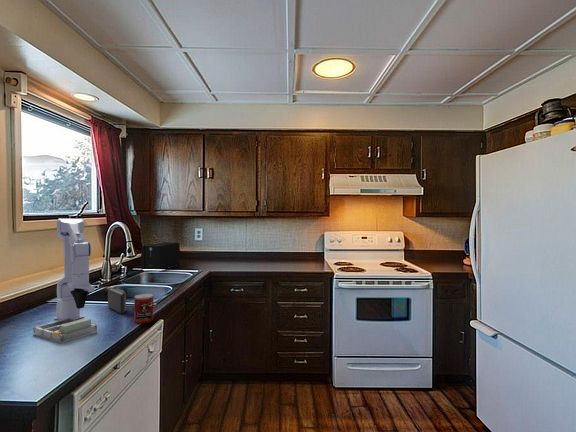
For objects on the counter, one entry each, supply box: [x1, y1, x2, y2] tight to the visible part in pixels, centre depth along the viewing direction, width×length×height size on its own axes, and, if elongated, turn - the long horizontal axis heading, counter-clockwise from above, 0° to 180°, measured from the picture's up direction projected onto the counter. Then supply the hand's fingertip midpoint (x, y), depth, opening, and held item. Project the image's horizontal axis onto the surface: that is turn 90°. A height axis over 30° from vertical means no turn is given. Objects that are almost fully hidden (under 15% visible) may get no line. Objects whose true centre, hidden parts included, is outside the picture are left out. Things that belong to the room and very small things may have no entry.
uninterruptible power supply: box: [140, 241, 181, 270], centre depth 291 cm, size 16×34×20 cm, turn 169°
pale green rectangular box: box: [60, 317, 92, 334], centre depth 137 cm, size 3×10×4 cm, turn 152°
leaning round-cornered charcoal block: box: [107, 288, 127, 314], centre depth 172 cm, size 16×5×9 cm, turn 47°
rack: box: [32, 318, 98, 344], centre depth 139 cm, size 18×14×3 cm
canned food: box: [133, 293, 154, 324], centre depth 156 cm, size 8×8×11 cm
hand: (80, 307), depth 140 cm, fingers closed
